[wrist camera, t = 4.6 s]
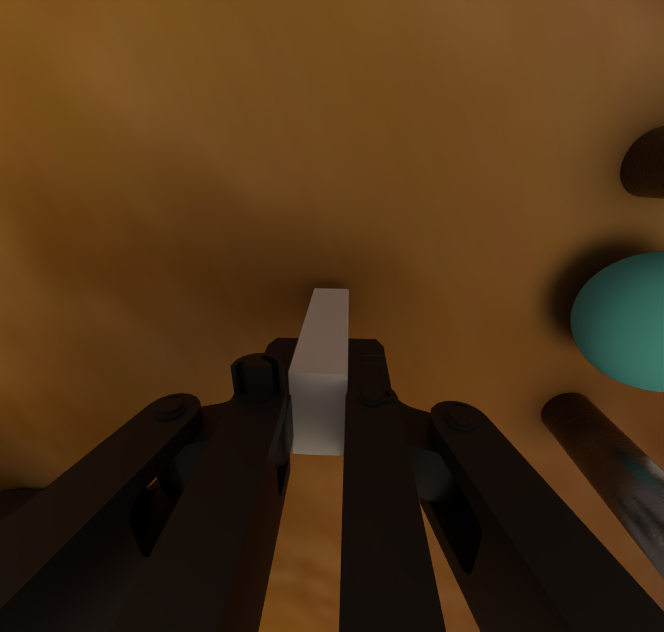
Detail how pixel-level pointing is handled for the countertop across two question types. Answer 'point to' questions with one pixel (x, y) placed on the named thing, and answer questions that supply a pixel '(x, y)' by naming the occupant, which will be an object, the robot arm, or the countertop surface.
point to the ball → (624, 321)
